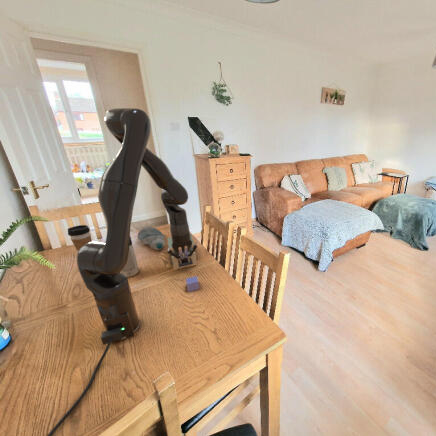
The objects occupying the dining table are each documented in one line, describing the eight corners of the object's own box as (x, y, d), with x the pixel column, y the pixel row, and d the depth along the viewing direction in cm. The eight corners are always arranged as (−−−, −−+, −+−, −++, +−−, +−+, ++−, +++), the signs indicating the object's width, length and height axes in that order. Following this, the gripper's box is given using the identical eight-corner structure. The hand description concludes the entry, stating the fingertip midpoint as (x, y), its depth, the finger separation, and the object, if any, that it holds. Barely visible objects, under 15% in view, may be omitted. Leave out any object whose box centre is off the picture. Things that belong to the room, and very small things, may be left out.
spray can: (142, 269, 113) (133, 231, 105) (132, 278, 107) (121, 238, 99) (129, 268, 114) (119, 230, 106) (118, 276, 107) (106, 237, 100)
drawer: (198, 269, 113) (197, 257, 111) (174, 275, 109) (172, 262, 106) (193, 252, 127) (191, 241, 125) (171, 257, 123) (169, 245, 120)
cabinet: (196, 259, 123) (194, 245, 120) (171, 265, 118) (169, 249, 114) (192, 247, 134) (190, 234, 130) (169, 252, 128) (167, 238, 125)
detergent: (135, 239, 140) (145, 256, 123) (134, 227, 138) (144, 243, 120) (160, 234, 148) (172, 250, 131) (159, 224, 146) (171, 238, 129)
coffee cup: (71, 255, 121) (61, 229, 115) (89, 248, 129) (80, 222, 123) (83, 259, 119) (74, 232, 113) (100, 251, 127) (92, 225, 121)
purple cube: (199, 289, 102) (198, 281, 101) (188, 292, 100) (187, 284, 99) (197, 283, 106) (196, 275, 104) (187, 286, 104) (185, 278, 102)
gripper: (163, 237, 99) (170, 272, 106) (197, 232, 105) (201, 265, 112) (162, 230, 105) (169, 263, 112) (194, 225, 111) (198, 257, 118)
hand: (185, 264), depth 112 cm, fingers closed
